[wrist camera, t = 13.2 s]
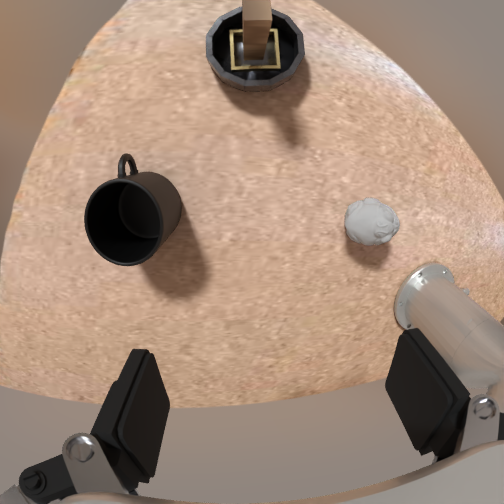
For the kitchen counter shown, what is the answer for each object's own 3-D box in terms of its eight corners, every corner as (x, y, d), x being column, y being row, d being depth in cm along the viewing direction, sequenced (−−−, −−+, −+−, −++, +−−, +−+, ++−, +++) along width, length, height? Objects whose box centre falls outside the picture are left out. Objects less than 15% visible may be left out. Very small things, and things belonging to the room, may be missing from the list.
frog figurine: (378, 236, 38) (402, 253, 31) (333, 237, 38) (350, 255, 31) (382, 194, 36) (407, 203, 29) (335, 193, 36) (354, 202, 29)
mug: (174, 146, 33) (152, 145, 25) (187, 237, 37) (170, 262, 29) (108, 159, 33) (73, 164, 25) (123, 244, 37) (94, 269, 29)
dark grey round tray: (295, 18, 27) (299, 7, 24) (301, 91, 31) (307, 85, 28) (208, 20, 27) (205, 9, 24) (210, 94, 31) (207, 88, 28)
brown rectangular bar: (262, 39, 28) (269, -5, 17) (263, 59, 29) (272, 20, 18) (242, 40, 28) (242, -5, 17) (243, 60, 29) (243, 20, 18)
